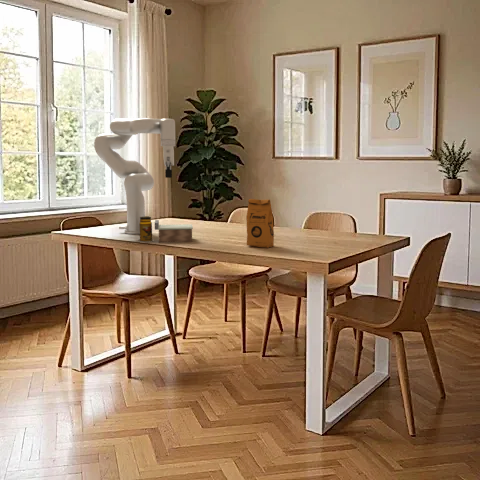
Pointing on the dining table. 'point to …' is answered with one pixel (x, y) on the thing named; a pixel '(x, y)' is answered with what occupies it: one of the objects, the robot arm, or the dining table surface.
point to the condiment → (145, 229)
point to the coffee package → (260, 224)
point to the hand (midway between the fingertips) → (168, 177)
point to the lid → (171, 226)
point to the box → (175, 235)
